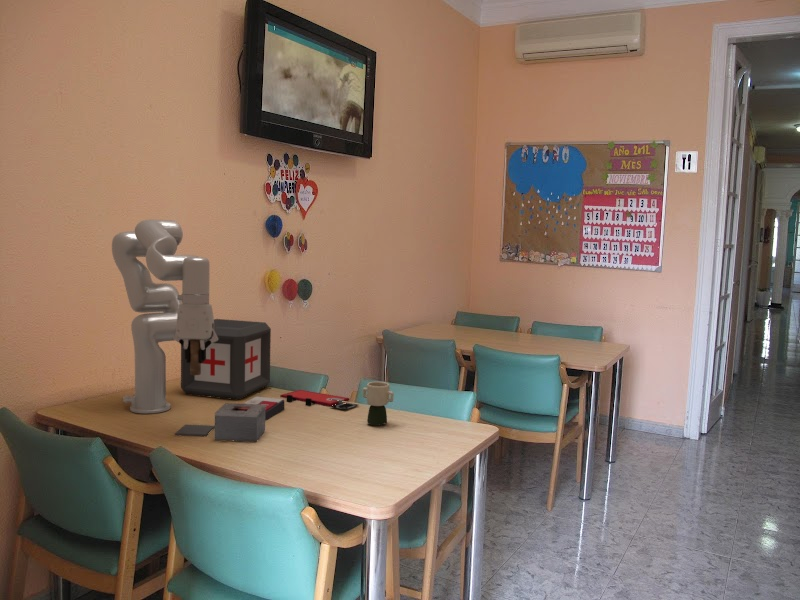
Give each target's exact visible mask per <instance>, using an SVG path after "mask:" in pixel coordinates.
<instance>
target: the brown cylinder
mask: <svg viewBox="0 0 800 600" xmlns="http://www.w3.org/2000/svg"><path fill="white" fill-rule="evenodd" d="M200 347H201V345H200V340H196V339H190V375H200V374H201V363H199V350H200Z"/></svg>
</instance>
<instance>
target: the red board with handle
mask: <svg viewBox="0 0 800 600" xmlns="http://www.w3.org/2000/svg"><path fill="white" fill-rule="evenodd" d="M280 398H282V399H283V398H284V399H286V403H293V401H298V402H304V403H305V406H306V407H311V406H312V404H314V405H320V406H325V405H326V407H330V408H336V409H341V410H349V409H351V408H354V407H358V404H357V403H356V404H355V403H351V402H349V401H350V397H345V396H338V395H332V394H326V393H321V392H315V391H309V390H303V389H299V390H298V389H297V390H295V391H291V392H287V393H283V394H280ZM331 399H332V400H331ZM337 400H339V401H337ZM342 401H347V402H346V404H343V403H344V402H342ZM335 404H336V405H335ZM332 405H333V406H332Z"/></svg>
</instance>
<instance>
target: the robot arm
mask: <svg viewBox="0 0 800 600" xmlns="http://www.w3.org/2000/svg"><path fill="white" fill-rule="evenodd" d="M183 235H184V233H183V230H182V226H181V225H180V224H179V223H178V222H177V221H175V220H171V219H169V220H168V219H145V220H144V219H143V220H141V221H139V222H138V223H137V224H136V226H135V227H134V230H133V231H131V230H130V231H128V230H127V231H121V232H119V233H117V234H115V235H114V236H113V238H112V241H111V253H112V257H113V260H114V263H115V264H116V267H117V268H118V270H119V272H120V274H121V276H122V279H123V282H124V287H125V291H126V294H127V299H128V303H129V305H130V307H131V309H132V310H133V311H134V312H136V313H141V314H139V315H137V316H134V317H133V319H132V321H131V324H130V325H131V326H130V327H131V329H130V330H131V334H132V341H133V347H134V348H133V349H134V395H123V398H122V401H123V403H125V404H127V403H128V404H129V403H130V404H131V405H130V406H129V411H130V412H132V413H135V414H141V415H142V414H146V415H147V414H157V413H158V414H159V413H164V412H166V411H169V410H170V409H171V407H172V405H171V403H170V402H168V401H166V400H167V398H166V397H167V393H166V392H167V389H166V387H167V382H166V381H167V377H166V374H167V373H166V372H167V364H166V363H167V362H166V361H167V359H166V358H167V357H166V353H165V351H164V350H163V349H162V347H160V345H159V343H162V342H163V343H164V342H172V341H176V342H178V343H179V344H180V346H181V345H182V346H183V348H184V349H185V359H187V361H186V362H187V363H189V362H190V339H196V340H200V345H201V347H200V350H199V363H203V362H204V360H206V348H207V347H208V346H209V345H210V344H212V343H214V342H216V341H218V337H217V335H216V333H215V331H214V319H215V318H214V312H213V306H212V304H211V303H210V260H209V259H208V258H206V257H203V256H202V257H199V256H197V255H193V254H184V255H183V254H176V253H177V250H178V246H179V245H180V244H181V243H182V241H183V237H184V236H183ZM137 258H145V262H146V265H145V264H144V263H142V261H140V260H139V259H137ZM151 274H152V275H153V276H154V277H155V278H156V279H158V280H160V281H163V282H167V281H168V282H171V281H182V282H181V283H182V284H181V286H182V287H181V288H182V290H181V291H182V292H181V294H179V291H178V289H177V288H176V287H175V285H174V284H171V283H163V282H161V283H155V282H154V281H153V280H152V276H151ZM210 337H212V339H210V340H208V341H207V339H209V338H210Z"/></svg>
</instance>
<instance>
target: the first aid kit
mask: <svg viewBox="0 0 800 600" xmlns="http://www.w3.org/2000/svg"><path fill="white" fill-rule="evenodd" d="M214 331H215V333H216V335H217V337H218V341H216V342H214V343H212V344H210V345H209V346H208V347H207V348H206V360H204V362H203V363H201V374H200V375H190V362H189V363H187V362H186V361H187V359H185V349H184V348H183V346H182V345H181V344H180V389H182V392H184V394H185V395H188V394H192V396H197V395H200V397H207V396H211V397H210V398H216V397H220V398H219V399H225V398H231V399H230V400H235V399H239V400H241V399H243V398H245V397H247V396H249V395H251V393H252V394H254V393H256V392H258V391H260V390H262V389H264V388H266V387H267V386H268V385H269V384H270V383H271V337H272V335H271V334H272V333H271V331H272V330H271V327H270V326H269V325H268V323H267V322H263V321H262V322H261V321H250V320H249V321H248V320H236V319H235V320H234V319H226V318H225V319H223V318H221V319H220V318H214ZM210 339H212V337H210V338H209V339H207V341H208V340H210ZM257 390H258V391H257ZM255 391H256V392H255ZM253 392H254V393H253ZM246 395H247V396H246ZM244 396H245V397H244ZM242 397H243V398H242ZM240 398H241V399H240Z"/></svg>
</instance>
